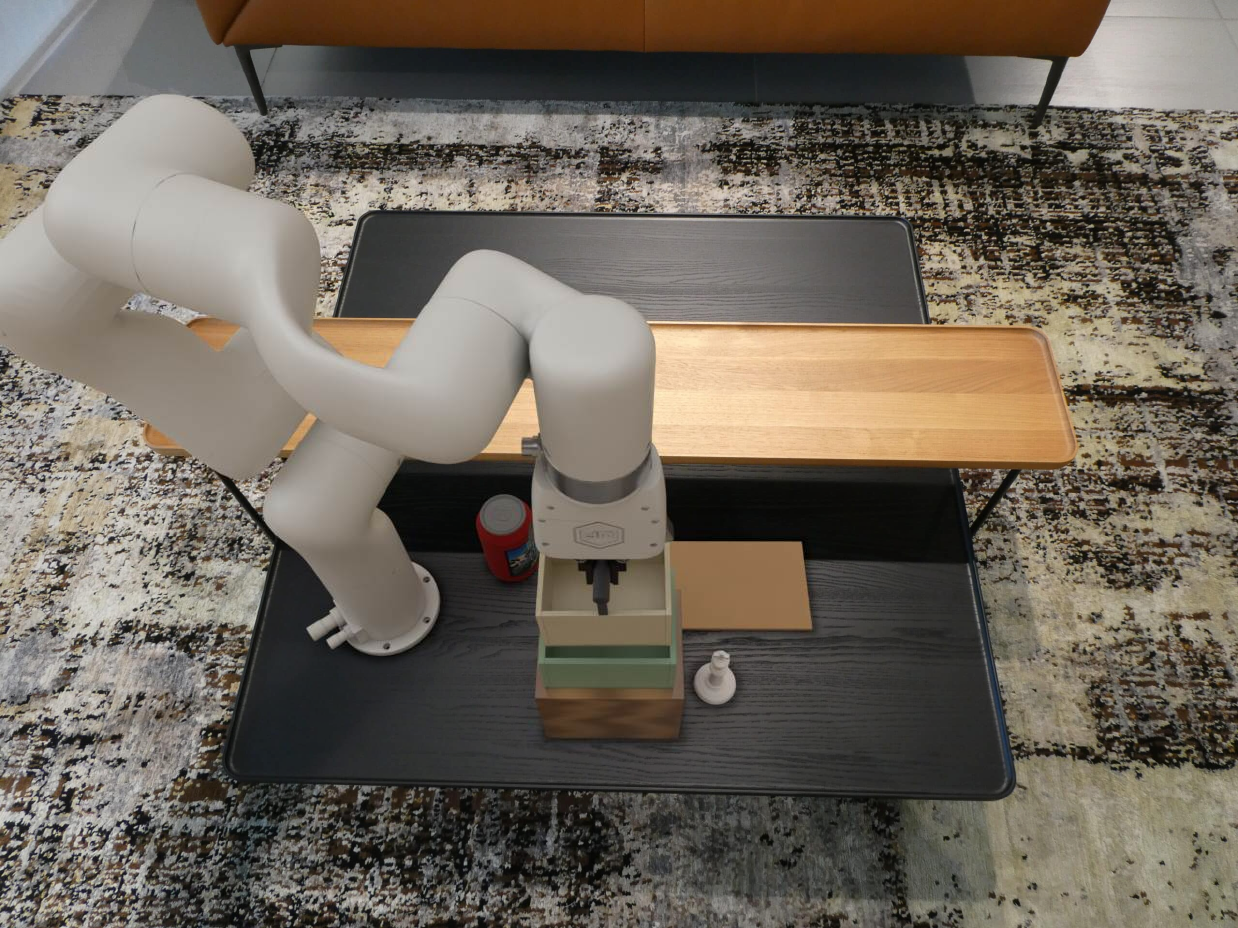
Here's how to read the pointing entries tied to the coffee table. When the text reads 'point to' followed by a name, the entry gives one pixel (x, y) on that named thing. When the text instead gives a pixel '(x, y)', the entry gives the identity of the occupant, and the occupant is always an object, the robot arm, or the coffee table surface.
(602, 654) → the green bin
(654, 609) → the cream bin
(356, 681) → the coffee table surface
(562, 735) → the wooden block
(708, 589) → the cork mat
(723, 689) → the chess piece
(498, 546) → the beverage can
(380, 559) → the robot arm
